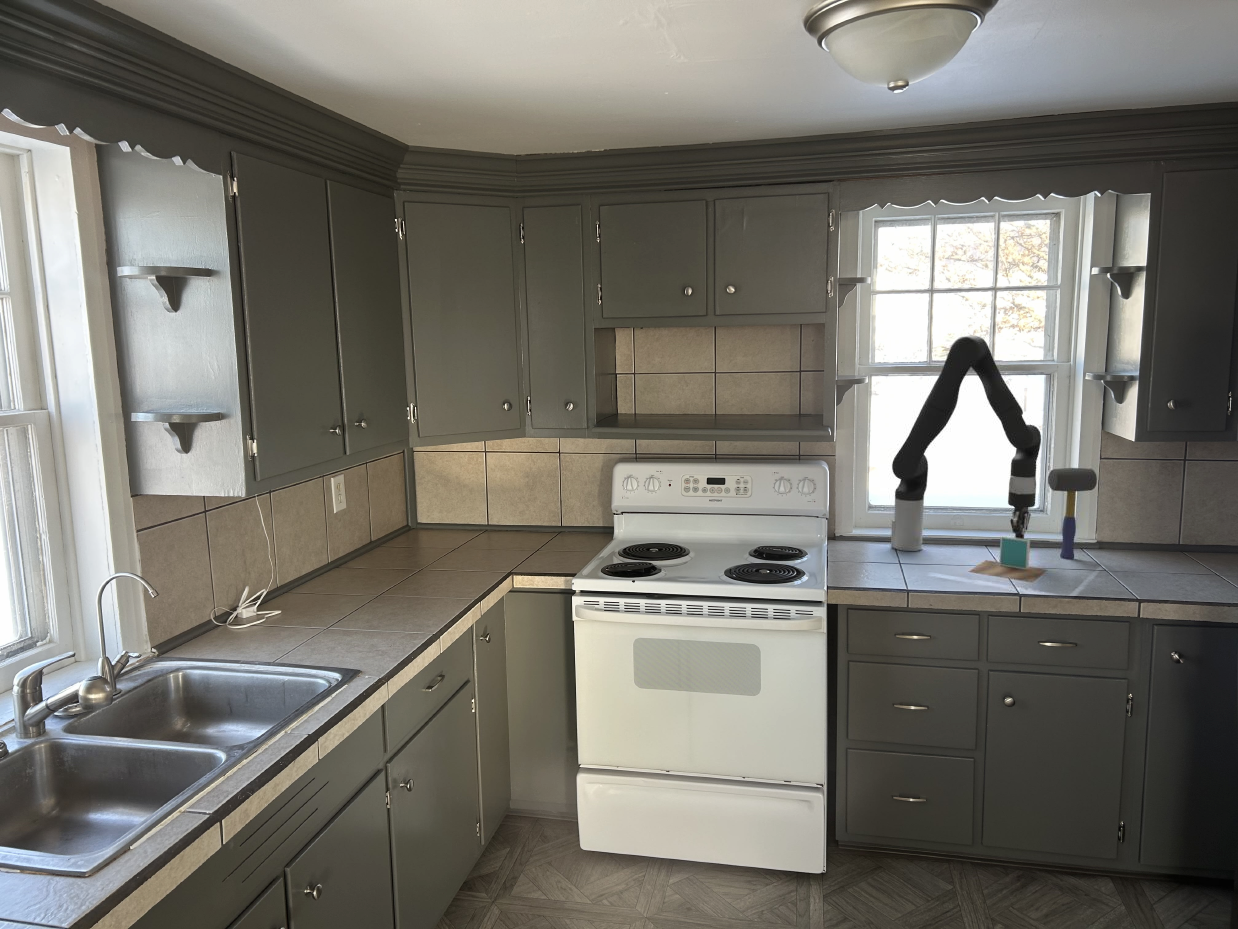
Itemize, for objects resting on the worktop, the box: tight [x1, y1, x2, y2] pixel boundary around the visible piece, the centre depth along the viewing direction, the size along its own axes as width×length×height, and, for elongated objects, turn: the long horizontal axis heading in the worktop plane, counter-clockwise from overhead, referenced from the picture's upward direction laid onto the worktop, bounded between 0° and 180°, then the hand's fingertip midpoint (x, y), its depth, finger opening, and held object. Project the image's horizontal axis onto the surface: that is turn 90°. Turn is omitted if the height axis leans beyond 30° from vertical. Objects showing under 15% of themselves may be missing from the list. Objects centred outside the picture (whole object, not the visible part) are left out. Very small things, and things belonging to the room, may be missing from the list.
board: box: [968, 559, 1048, 583], centre depth 257 cm, size 18×16×1 cm
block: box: [998, 535, 1031, 569], centre depth 260 cm, size 8×2×9 cm, turn 49°
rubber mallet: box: [1047, 467, 1098, 560], centre depth 268 cm, size 12×8×30 cm, turn 88°
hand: (1019, 545), depth 263 cm, fingers closed
